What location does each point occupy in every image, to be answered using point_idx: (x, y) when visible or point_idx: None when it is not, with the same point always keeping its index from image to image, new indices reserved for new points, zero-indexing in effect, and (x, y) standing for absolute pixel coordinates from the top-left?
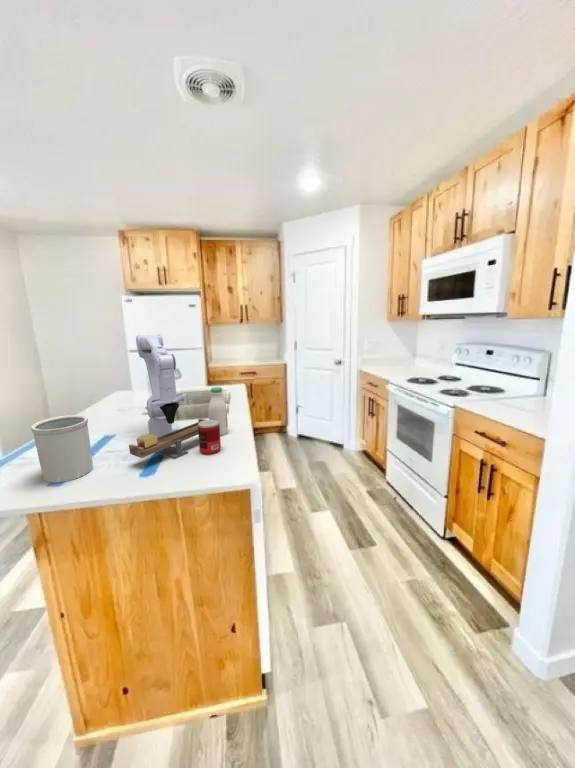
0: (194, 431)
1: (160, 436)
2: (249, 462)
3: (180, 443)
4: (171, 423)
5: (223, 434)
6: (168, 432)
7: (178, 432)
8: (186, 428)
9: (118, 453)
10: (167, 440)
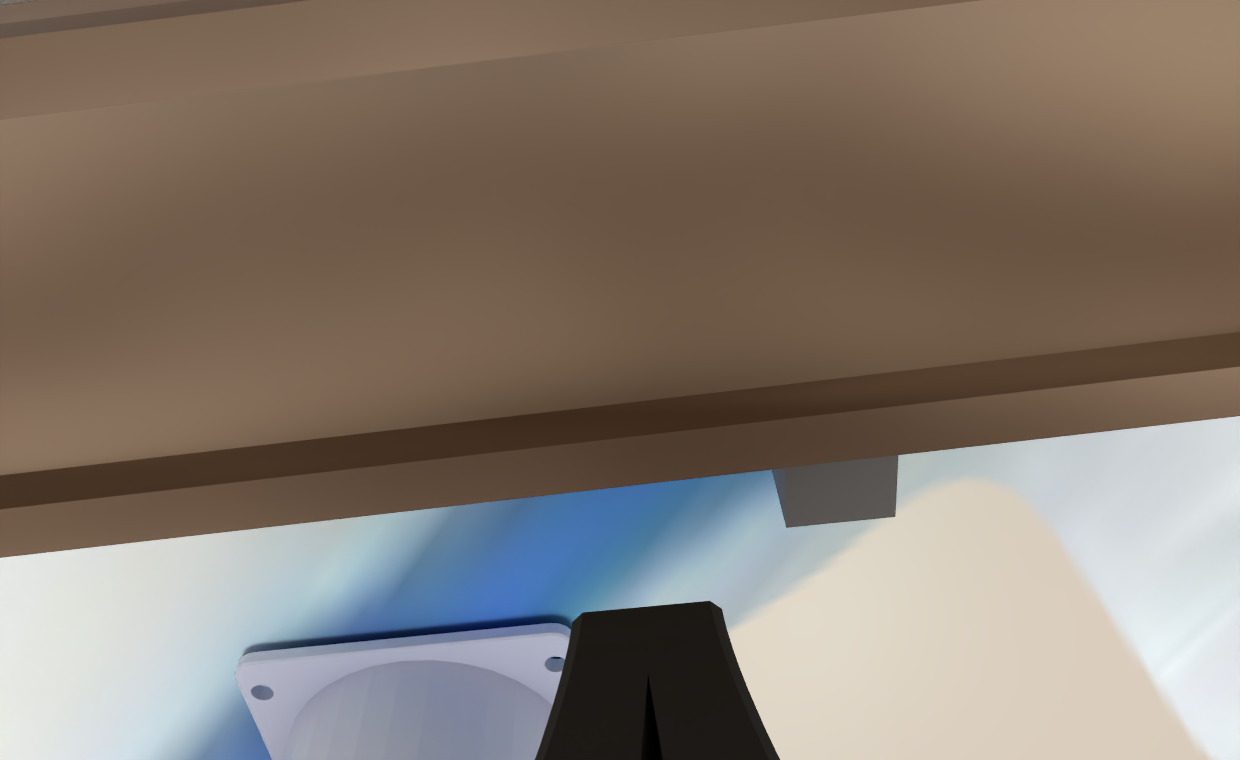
0: (12, 29)
1: (882, 507)
2: None
3: None
4: (702, 606)
5: None
6: (392, 748)
7: (409, 431)
8: (114, 479)
9: (1189, 693)
10: (974, 154)
